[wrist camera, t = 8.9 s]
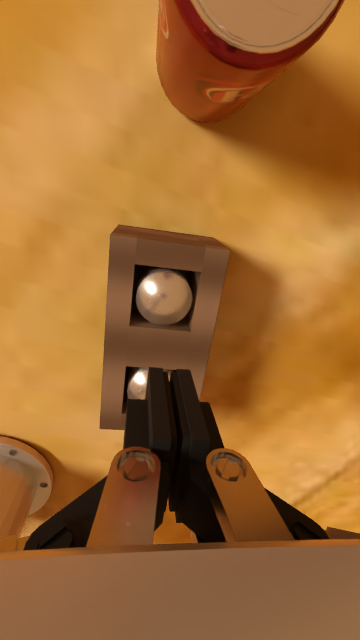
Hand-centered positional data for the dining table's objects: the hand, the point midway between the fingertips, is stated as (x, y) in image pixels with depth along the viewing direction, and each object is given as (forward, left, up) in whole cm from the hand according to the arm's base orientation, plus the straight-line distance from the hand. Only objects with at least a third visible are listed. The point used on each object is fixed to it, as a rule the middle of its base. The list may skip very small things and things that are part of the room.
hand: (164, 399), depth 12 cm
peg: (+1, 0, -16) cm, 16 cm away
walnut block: (-3, -2, -16) cm, 17 cm away
